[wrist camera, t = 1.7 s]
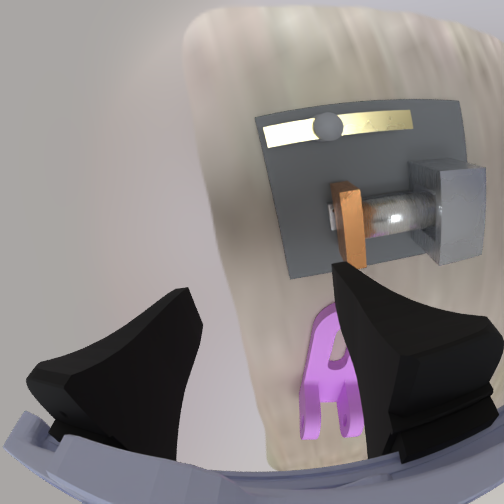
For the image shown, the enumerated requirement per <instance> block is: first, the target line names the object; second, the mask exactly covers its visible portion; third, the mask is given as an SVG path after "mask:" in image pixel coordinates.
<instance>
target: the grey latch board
mask: <svg viewBox="0 0 504 504" xmlns="http://www.w3.org/2000/svg"><path fill="white" fill-rule="evenodd" d="M392 110H410V112H411V118H412V123H413V129H403V130H389V131H377V132H367V133H357V134H349V135H342V133H343V130H344V125H343V122H342V120H341V118H340V117H339V116H337V115H343V114H352V113H363V112H375V111H392ZM313 118H316V119H315V121H314V131H315V133H316V134H317V136H318V137H320V139H313V140H307V141H301V142H296V143H290V144H285V145H280V146H275V147H270V148H268V145H267V141H266V137H265V132H264V128H263V127H268V126H273V125H278V124H283V123H289V122H294V121H300V120H306V119H313ZM255 121H256V125H257V129H258V133H259V138H260V142H261V146H262V150H263V154H264V159H265V163H266V167H267V172H268V176H269V181H270V185H271V189H272V194H273V199H274V203H275V208H276V212H277V217H278V222H279V227H280V231H281V236H282V241H283V246H284V251H285V256H286V261H287V266H288V271H289V276H290V279H295V278H301V277H307V276H313V275H318V274H324V273H329V272H332V266H331V264H333V263H338V262H344V261H343V259H342V257H341V255H340V253H339V246H338V237H337V230H331V229H330V225H329V218H328V212H327V205H326V203H327V202H333V200H332V194H331V187H330V184H331V183H337V182H343V181H349V182H350V183H352V184H353V185H354V186H356V187H357V188H359V189H360V193H361V197H364V196H370V195H377V194H383V193H390V192H397V191H404V190H410V189H409V177H408V167H407V161H415V160H426V159H439V158H452V159H456V160H460V161H464V162H467V154H466V144H465V135H464V127H463V120H462V114H461V108H460V103H459V101H453V100H432V99H397V100H374V101H360V102H349V103H339V104H330V105H322V106H315V107H308V108H302V109H296V110H290V111H284V112H279V113H274V114H269V115H264V116H259V117H255ZM365 246H366V265H372V264H377V263H382V262H387V261H391V260H396V259H401V258H406V257H411V256H415V255H420V254H424V253H426V252H425V251H423V250H422V249H421V248H420V247H419V246H418V245H417V244H416V243H415V242H414V241H413V240H412V239H411V231H407V232H402V233H396V234H391V235H385V236H380V237H374V238H369V239H365Z"/></svg>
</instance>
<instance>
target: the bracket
mask: <svg viewBox="0 0 504 504" xmlns="http://www.w3.org/2000/svg"><path fill="white" fill-rule="evenodd" d="M339 329H341V328H340V325H339V320H338V316H337V311H336V307H335V303H333V304H330V305H329V306H327V307H326V308H324V309H323V310H322V311H321V312H320V313H319V314H318V315H317V317H316V319H315V321H314V323H313V328H312V334H311V339H310V344H309V350H308V355H307V359H306V364H305V369H304V374H303V378H302V383H301V387H300V392H299V409H300V437H301V439H302V440H306V439H317V438H318V436H319V433H320V427H321V408H320V402H337V409H338V416H339V423H340V431H341V435H342V436H343V437H344V438H345V437H355V436H359V435H360V434H361V433H362V430H363V427H364V418H363V411H362V405H361V399H360V393H359V388H358V382H357V377H356V373H355V370H354V366H353V363H352V360H351V357H350V354H349V351H348V349H347V348H346V352H345V355H344V357H343V358H342V359H340V360H338V361H330V360H329V358H330V354H331V351H332V347H333V343H334V339H335V335H336V333H337V331H338V330H339Z"/></svg>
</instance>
